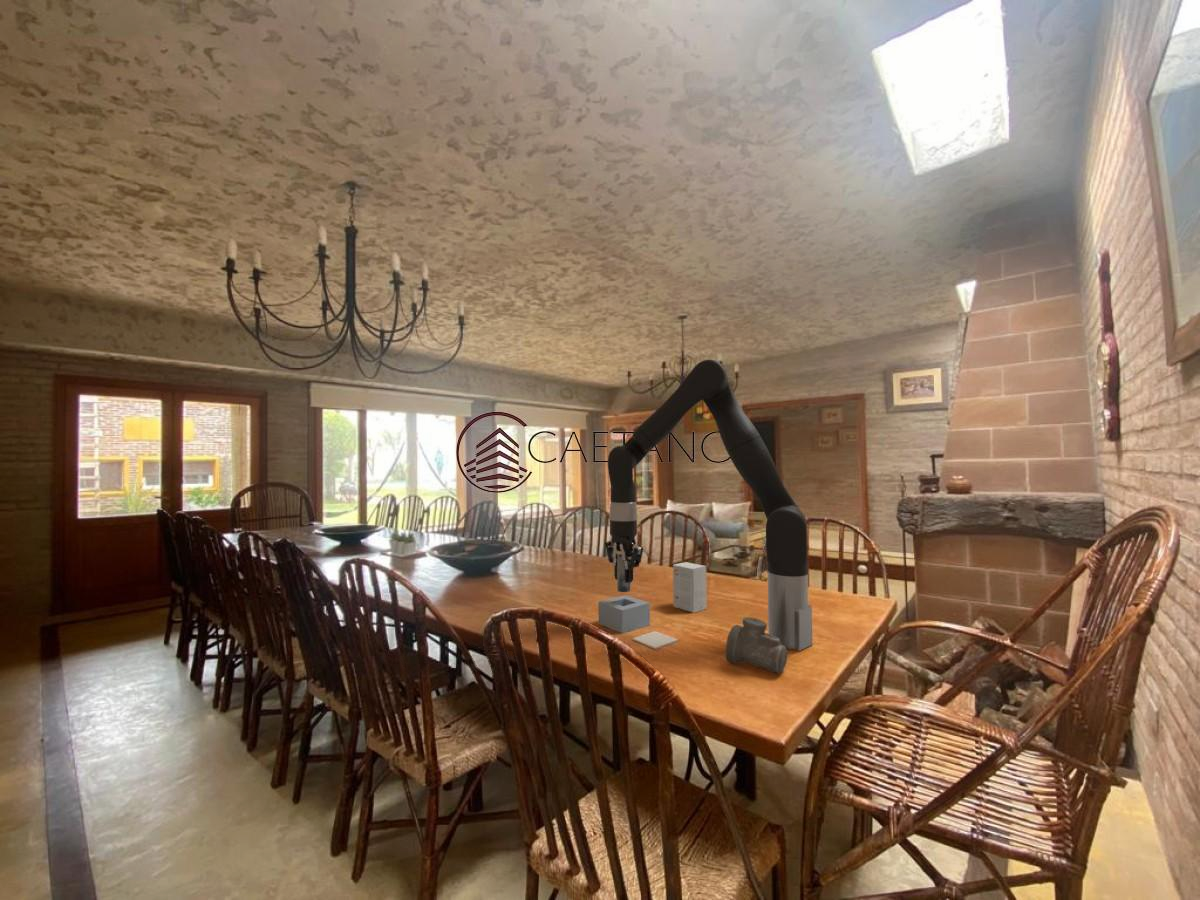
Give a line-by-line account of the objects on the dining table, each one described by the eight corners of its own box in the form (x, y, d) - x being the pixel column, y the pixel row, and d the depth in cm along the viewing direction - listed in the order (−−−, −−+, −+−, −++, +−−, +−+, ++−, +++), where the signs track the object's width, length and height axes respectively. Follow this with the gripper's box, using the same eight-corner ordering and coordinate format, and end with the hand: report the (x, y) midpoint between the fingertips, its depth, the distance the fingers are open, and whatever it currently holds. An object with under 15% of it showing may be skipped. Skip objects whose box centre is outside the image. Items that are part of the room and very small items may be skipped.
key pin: (634, 590, 133) (633, 550, 134) (623, 593, 131) (622, 552, 131) (624, 587, 137) (624, 548, 137) (613, 590, 134) (613, 550, 134)
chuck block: (649, 625, 133) (649, 602, 133) (622, 633, 126) (622, 610, 127) (625, 616, 141) (625, 595, 141) (598, 623, 134) (598, 601, 134)
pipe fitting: (720, 664, 106) (726, 617, 106) (734, 655, 112) (740, 611, 113) (776, 685, 99) (782, 635, 99) (787, 674, 105) (793, 627, 105)
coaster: (678, 641, 121) (678, 639, 121) (655, 649, 116) (655, 647, 116) (655, 632, 127) (655, 631, 127) (632, 639, 122) (632, 638, 122)
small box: (707, 609, 146) (706, 565, 147) (693, 613, 142) (692, 568, 143) (686, 603, 153) (686, 561, 153) (672, 607, 149) (672, 564, 149)
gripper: (651, 519, 131) (651, 583, 131) (616, 514, 142) (617, 574, 142) (630, 522, 126) (630, 588, 126) (596, 517, 137) (597, 578, 137)
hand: (623, 580), depth 134 cm, fingers closed on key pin, 3 cm apart
